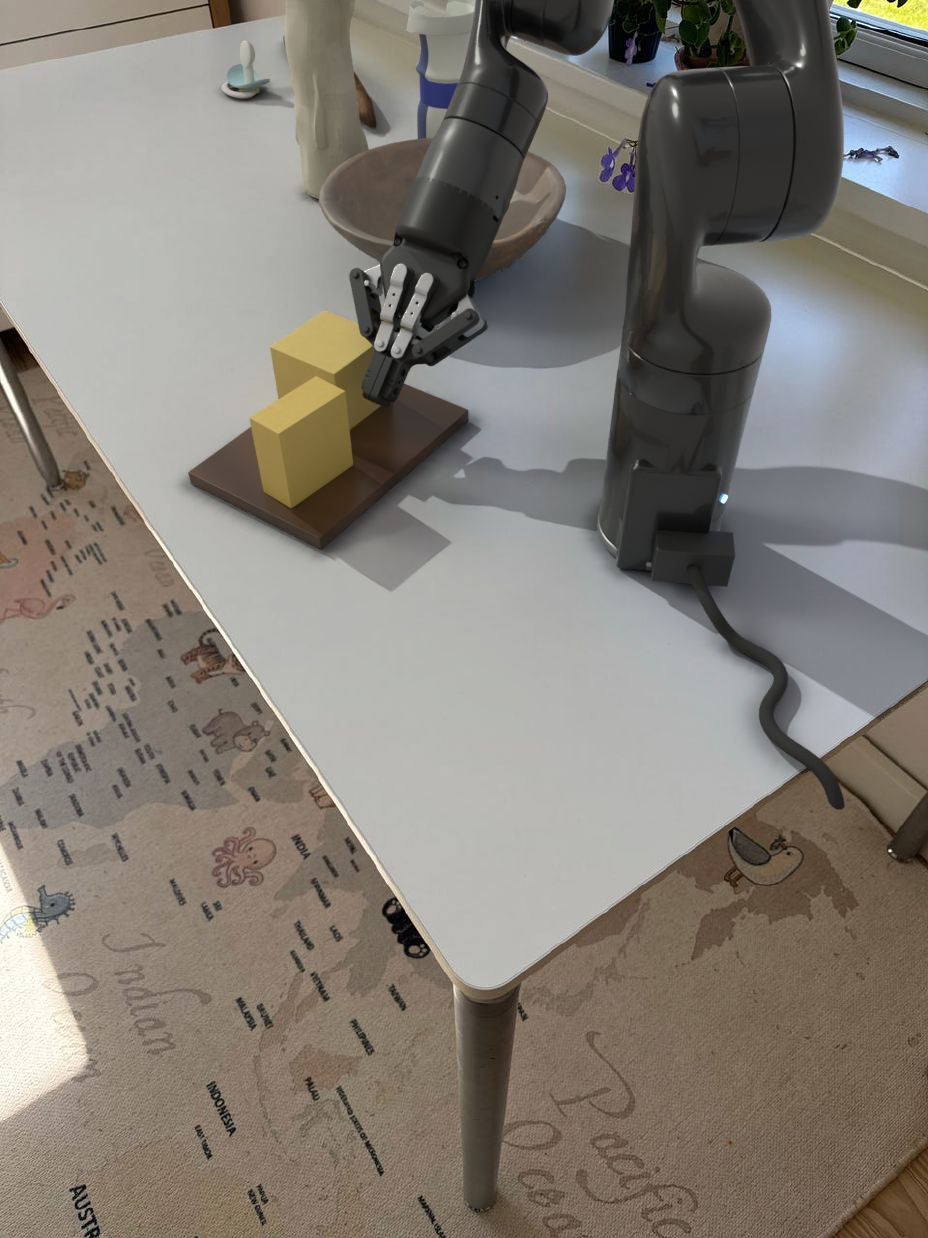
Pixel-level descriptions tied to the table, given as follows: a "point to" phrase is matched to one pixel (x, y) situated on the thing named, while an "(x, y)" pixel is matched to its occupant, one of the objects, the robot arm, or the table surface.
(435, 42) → the water bottle
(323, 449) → the butter slice
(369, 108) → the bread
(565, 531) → the table surface
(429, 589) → the table surface
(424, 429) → the butter board
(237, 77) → the pacifier
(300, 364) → the butter block
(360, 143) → the vase
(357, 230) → the bowl
